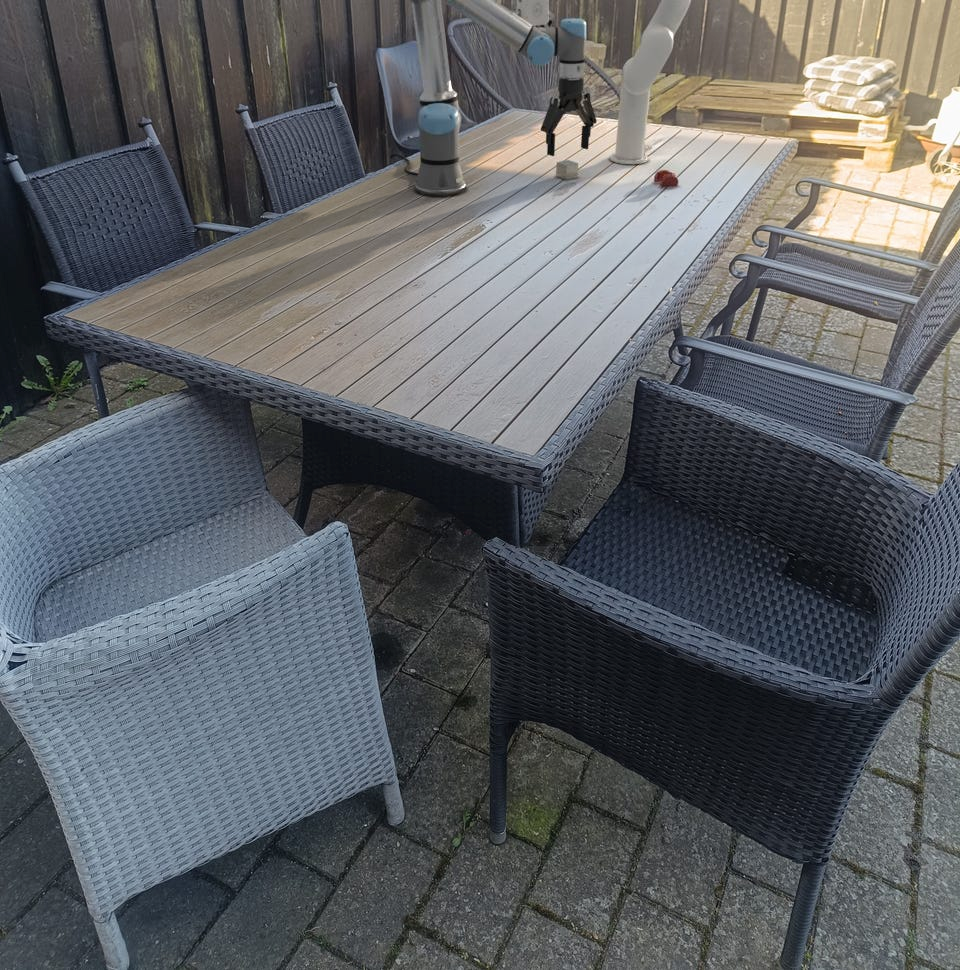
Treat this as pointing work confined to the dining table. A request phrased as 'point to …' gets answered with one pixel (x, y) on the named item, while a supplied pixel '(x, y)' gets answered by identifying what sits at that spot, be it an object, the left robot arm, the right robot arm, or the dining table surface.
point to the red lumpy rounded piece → (666, 178)
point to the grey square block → (567, 169)
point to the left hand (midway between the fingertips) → (567, 151)
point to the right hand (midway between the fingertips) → (531, 45)
